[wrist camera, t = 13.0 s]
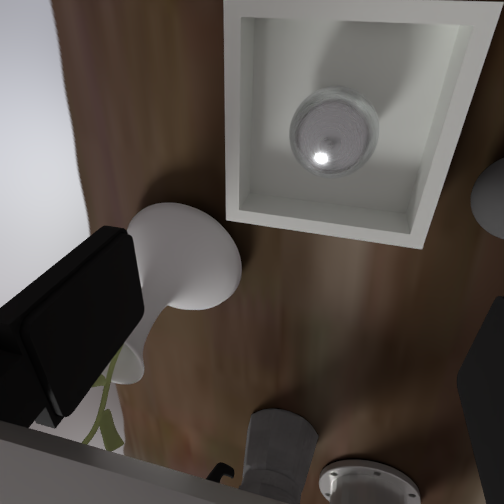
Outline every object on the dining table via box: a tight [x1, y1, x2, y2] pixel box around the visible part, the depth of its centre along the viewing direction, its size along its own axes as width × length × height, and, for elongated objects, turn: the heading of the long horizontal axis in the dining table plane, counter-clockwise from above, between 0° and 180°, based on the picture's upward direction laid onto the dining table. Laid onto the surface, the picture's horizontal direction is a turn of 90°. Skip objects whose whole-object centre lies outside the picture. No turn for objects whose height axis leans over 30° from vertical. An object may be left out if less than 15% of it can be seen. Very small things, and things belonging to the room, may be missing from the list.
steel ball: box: [289, 86, 380, 178], centre depth 23 cm, size 6×6×6 cm
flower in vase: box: [82, 203, 242, 452], centre depth 26 cm, size 13×11×25 cm
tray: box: [224, 0, 504, 249], centre depth 24 cm, size 14×14×4 cm
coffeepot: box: [206, 409, 319, 504], centre depth 40 cm, size 15×9×18 cm, turn 60°
